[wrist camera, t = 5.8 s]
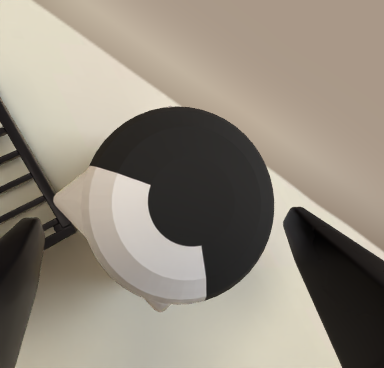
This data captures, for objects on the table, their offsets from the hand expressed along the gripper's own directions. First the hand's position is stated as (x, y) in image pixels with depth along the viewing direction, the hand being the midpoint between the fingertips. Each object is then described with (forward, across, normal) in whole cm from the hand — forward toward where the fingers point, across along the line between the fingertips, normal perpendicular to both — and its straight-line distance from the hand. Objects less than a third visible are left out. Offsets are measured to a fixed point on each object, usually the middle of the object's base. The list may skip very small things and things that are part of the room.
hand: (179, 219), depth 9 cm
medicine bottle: (+8, 0, +7) cm, 10 cm away
